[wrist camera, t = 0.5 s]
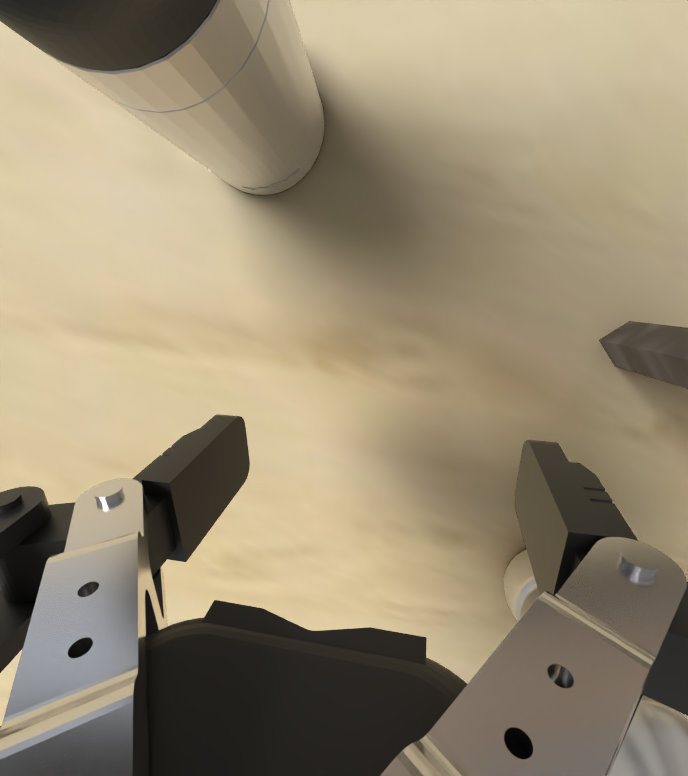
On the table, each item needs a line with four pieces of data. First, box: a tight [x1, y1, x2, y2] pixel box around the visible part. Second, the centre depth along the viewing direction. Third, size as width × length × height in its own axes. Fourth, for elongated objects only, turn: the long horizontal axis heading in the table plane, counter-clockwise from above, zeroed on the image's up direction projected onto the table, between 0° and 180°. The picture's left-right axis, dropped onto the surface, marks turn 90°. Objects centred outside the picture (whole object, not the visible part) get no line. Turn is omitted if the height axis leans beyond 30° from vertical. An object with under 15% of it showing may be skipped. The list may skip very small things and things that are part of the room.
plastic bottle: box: [503, 549, 688, 776], centre depth 25 cm, size 6×7×20 cm
